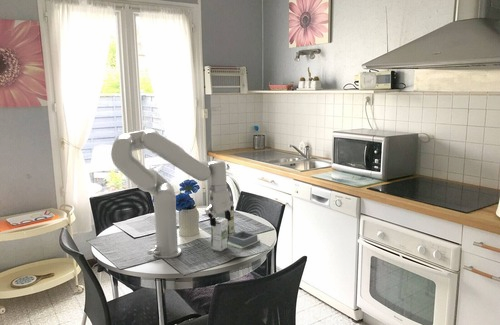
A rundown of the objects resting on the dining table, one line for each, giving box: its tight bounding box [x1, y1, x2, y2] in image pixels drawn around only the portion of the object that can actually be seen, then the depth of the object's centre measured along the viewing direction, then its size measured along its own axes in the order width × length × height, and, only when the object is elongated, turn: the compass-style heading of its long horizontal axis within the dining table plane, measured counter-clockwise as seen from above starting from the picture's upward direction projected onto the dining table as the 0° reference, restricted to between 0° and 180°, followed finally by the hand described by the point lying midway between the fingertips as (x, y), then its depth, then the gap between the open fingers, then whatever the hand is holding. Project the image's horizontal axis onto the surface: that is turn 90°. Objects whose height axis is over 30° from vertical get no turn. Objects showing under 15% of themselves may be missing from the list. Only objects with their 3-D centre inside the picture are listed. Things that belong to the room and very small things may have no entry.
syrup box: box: [210, 217, 229, 252], centre depth 195 cm, size 6×6×14 cm
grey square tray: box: [228, 230, 259, 247], centre depth 203 cm, size 10×10×3 cm
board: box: [228, 238, 261, 250], centre depth 203 cm, size 14×10×1 cm
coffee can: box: [214, 205, 236, 237], centre depth 216 cm, size 10×10×14 cm
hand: (220, 222), depth 194 cm, fingers open, 9 cm apart
